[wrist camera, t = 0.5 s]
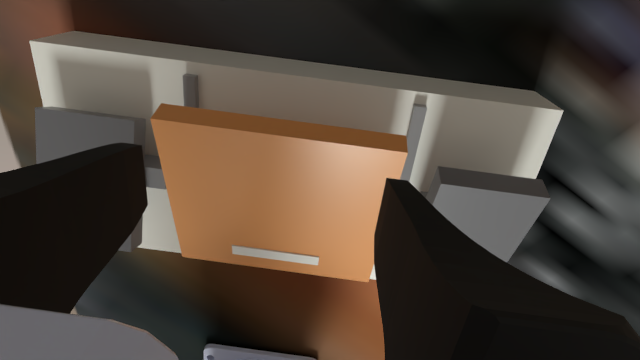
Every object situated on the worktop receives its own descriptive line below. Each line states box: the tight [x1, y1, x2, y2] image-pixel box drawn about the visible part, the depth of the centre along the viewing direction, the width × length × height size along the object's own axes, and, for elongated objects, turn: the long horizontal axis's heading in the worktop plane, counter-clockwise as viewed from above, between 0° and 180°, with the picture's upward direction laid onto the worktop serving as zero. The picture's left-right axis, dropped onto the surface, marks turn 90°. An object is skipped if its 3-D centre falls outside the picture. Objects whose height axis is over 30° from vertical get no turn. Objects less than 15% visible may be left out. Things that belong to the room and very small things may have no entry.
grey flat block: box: [426, 166, 551, 263], centre depth 17 cm, size 6×4×1 cm
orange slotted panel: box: [150, 103, 408, 282], centre depth 17 cm, size 8×9×1 cm
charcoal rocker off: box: [35, 106, 146, 252], centre depth 17 cm, size 6×4×1 cm
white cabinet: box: [30, 31, 563, 280], centre depth 20 cm, size 10×22×4 cm, turn 84°
